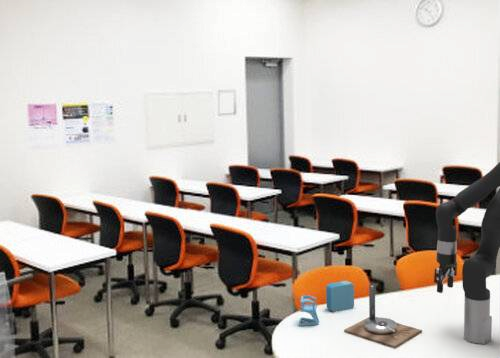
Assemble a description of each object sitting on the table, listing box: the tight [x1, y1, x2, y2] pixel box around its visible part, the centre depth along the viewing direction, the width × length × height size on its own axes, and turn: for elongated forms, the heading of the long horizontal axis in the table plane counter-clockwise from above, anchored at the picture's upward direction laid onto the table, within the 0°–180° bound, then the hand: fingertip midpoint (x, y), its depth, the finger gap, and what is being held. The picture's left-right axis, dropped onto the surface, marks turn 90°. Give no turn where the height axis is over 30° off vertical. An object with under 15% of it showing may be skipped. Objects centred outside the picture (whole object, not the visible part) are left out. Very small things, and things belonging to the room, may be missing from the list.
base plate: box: [343, 316, 423, 349], centre depth 238 cm, size 24×20×1 cm
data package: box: [325, 280, 355, 313], centre depth 264 cm, size 12×4×12 cm, turn 112°
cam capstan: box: [364, 284, 398, 334], centre depth 237 cm, size 17×13×16 cm
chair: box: [298, 294, 320, 327], centre depth 249 cm, size 8×8×12 cm
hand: (445, 289), depth 235 cm, fingers open, 8 cm apart
